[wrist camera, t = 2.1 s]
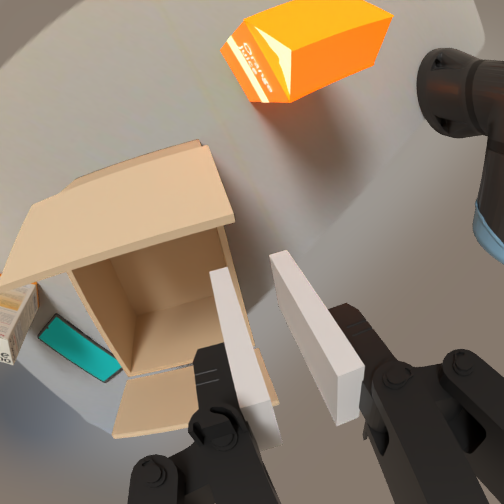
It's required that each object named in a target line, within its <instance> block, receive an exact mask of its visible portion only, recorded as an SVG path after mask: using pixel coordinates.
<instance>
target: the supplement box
mask: <svg viewBox="0 0 504 504" xmlns="http://www.w3.org/2000/svg"><path fill="white" fill-rule="evenodd" d="M1 275H2V274H0V278H1ZM38 308H39V299H38V286H37V282H34V283H31V284H28V285H25V286H22V287H19V288H16V289H13V290H10V291H7V292H4V293H1V292H0V361H1V362H4V363H8V364H11V365H14V363H15V361H16V358H17V355H18V353H19V351H20V348H21V346H22V343H23V341H24V339H25V337H26V334H27V332H28V330H29V328H30V325H31V323H32V321H33V319H34V317H35V315H36V312H37V310H38Z"/></svg>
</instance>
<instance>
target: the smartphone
mask: <svg viewBox="0 0 504 504" xmlns="http://www.w3.org/2000/svg"><path fill="white" fill-rule="evenodd" d="M38 339H40V340H41V341H42V342H44V343H45V344H46V345H48V346H49V347H51V348H52V349H53V350H55V351H56V352H58V353H59V354H60V355H62V356H63V357H65V358H66V359H68V360H69V361H71V362H72V363H74V364H75V365H77V366H78V367H80V368H81V369H83V370H84V371H86V372H87V373H89V374H91V375H92V376H94V377H95V378H97V379H99V380H100V381H102V382H104V383H106V382H107V381H109V380H110V379H111V378H112V377H114V376H115V375H116V374H117V373H119V372H120V371H121V370H123V368H122V367H121V365H120V364H119V362H118V361H117V359H116V358H115V356H114V355H113V354H112V353H111V352H109V351H108V350H106V349H105V348H103V347H102V346H101V345H99V344H98V343H96V342H95V341H93V340H92V339H91V338H90V337H89V336H86V335H85V334H84V333H83V332H82V331H80V330H79V329H78V328H76V327H75V326H74V325H72V324H71V323H70V322H68V321H66V320H65V319H64V318H63V317H61V316H60V315H59V314H55V315H54V316H53V317H52V319H51V320H50V321H49V322H48V323H47V325H46V326H45V327H44V328H43V330H42V331H41V332H40V333H39V335H38Z"/></svg>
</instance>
